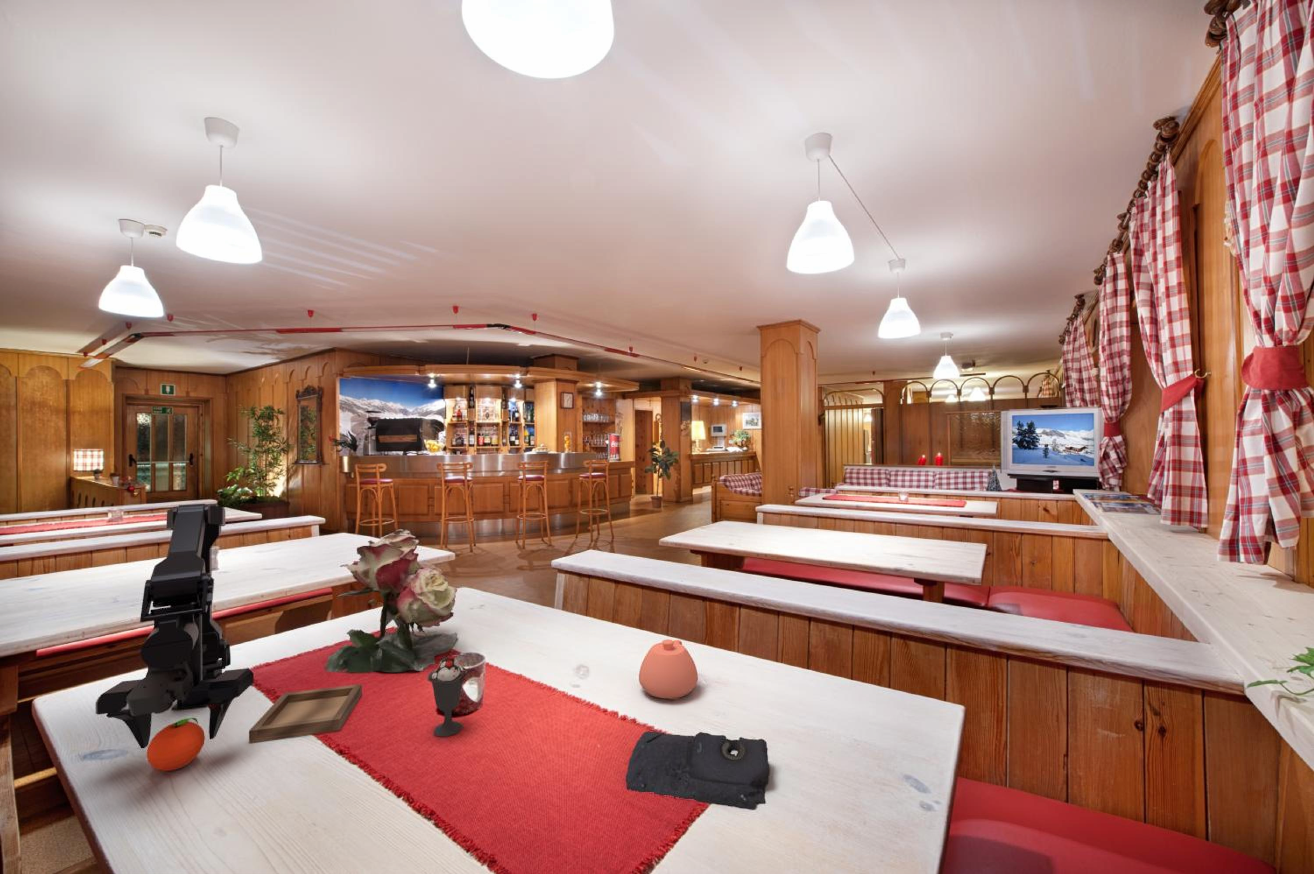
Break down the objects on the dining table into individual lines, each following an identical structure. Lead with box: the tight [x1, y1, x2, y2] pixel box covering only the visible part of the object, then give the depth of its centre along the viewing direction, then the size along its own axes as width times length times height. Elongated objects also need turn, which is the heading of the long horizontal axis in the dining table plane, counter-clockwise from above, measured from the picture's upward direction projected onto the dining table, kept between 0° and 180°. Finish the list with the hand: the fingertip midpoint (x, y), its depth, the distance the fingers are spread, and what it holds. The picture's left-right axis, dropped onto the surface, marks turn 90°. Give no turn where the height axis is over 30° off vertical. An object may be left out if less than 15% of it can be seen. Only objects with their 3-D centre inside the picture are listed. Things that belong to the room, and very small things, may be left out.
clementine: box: [146, 717, 206, 772], centre depth 85 cm, size 8×7×7 cm
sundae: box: [427, 648, 468, 738], centre depth 94 cm, size 7×7×15 cm
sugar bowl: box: [638, 638, 699, 701], centre depth 109 cm, size 12×14×10 cm
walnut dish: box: [248, 683, 363, 744], centre depth 99 cm, size 14×14×2 cm
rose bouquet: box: [313, 529, 459, 674], centre depth 130 cm, size 26×29×30 cm
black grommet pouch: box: [625, 730, 771, 811], centre depth 83 cm, size 15×22×5 cm
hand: (179, 742), depth 85 cm, fingers open, 9 cm apart
